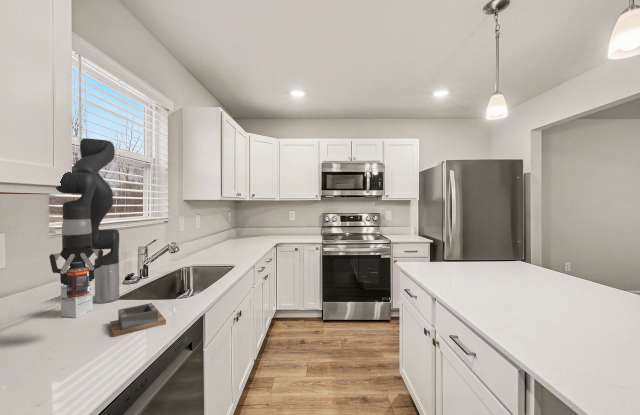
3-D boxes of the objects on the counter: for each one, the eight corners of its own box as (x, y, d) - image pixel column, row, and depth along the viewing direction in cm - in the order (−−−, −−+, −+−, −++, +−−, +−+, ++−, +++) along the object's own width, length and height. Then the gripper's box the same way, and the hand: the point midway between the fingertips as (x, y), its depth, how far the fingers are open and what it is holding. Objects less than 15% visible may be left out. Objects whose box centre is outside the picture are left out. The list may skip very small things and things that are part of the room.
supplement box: (60, 317, 115) (59, 285, 115) (78, 310, 122) (78, 280, 122) (75, 318, 114) (75, 286, 113) (93, 311, 121) (93, 281, 121)
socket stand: (110, 325, 106) (109, 310, 106) (158, 314, 117) (158, 301, 117) (113, 336, 97) (113, 320, 97) (165, 323, 108) (165, 309, 108)
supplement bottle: (94, 292, 99) (93, 260, 98) (78, 298, 93) (77, 263, 92) (78, 292, 99) (78, 259, 99) (61, 298, 93) (60, 263, 93)
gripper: (103, 230, 103) (103, 276, 103) (48, 233, 94) (49, 284, 94) (105, 232, 97) (105, 281, 98) (46, 235, 88) (47, 289, 88)
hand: (77, 282), depth 96 cm, fingers closed on supplement bottle, 6 cm apart
